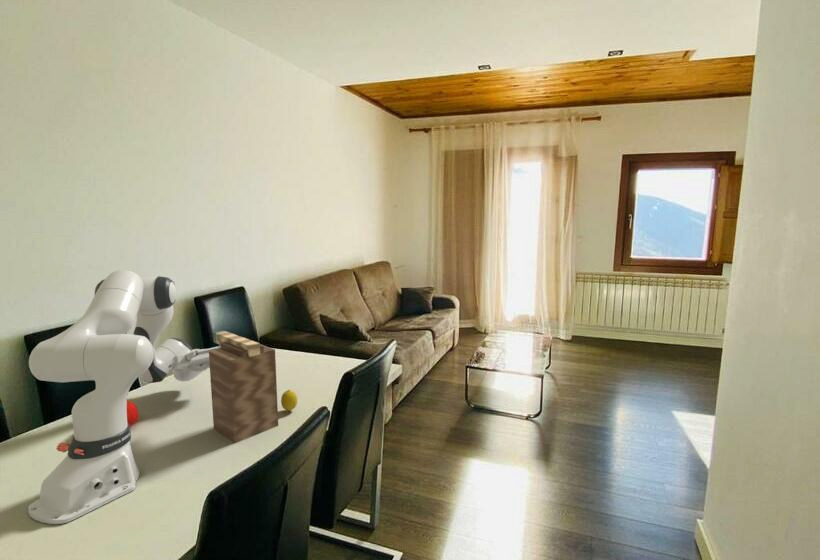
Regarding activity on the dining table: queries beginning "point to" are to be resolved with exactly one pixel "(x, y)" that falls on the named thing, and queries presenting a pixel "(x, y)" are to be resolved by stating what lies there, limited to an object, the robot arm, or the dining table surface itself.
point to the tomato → (132, 413)
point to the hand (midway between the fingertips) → (209, 349)
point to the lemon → (289, 400)
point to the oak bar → (237, 342)
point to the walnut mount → (243, 391)
